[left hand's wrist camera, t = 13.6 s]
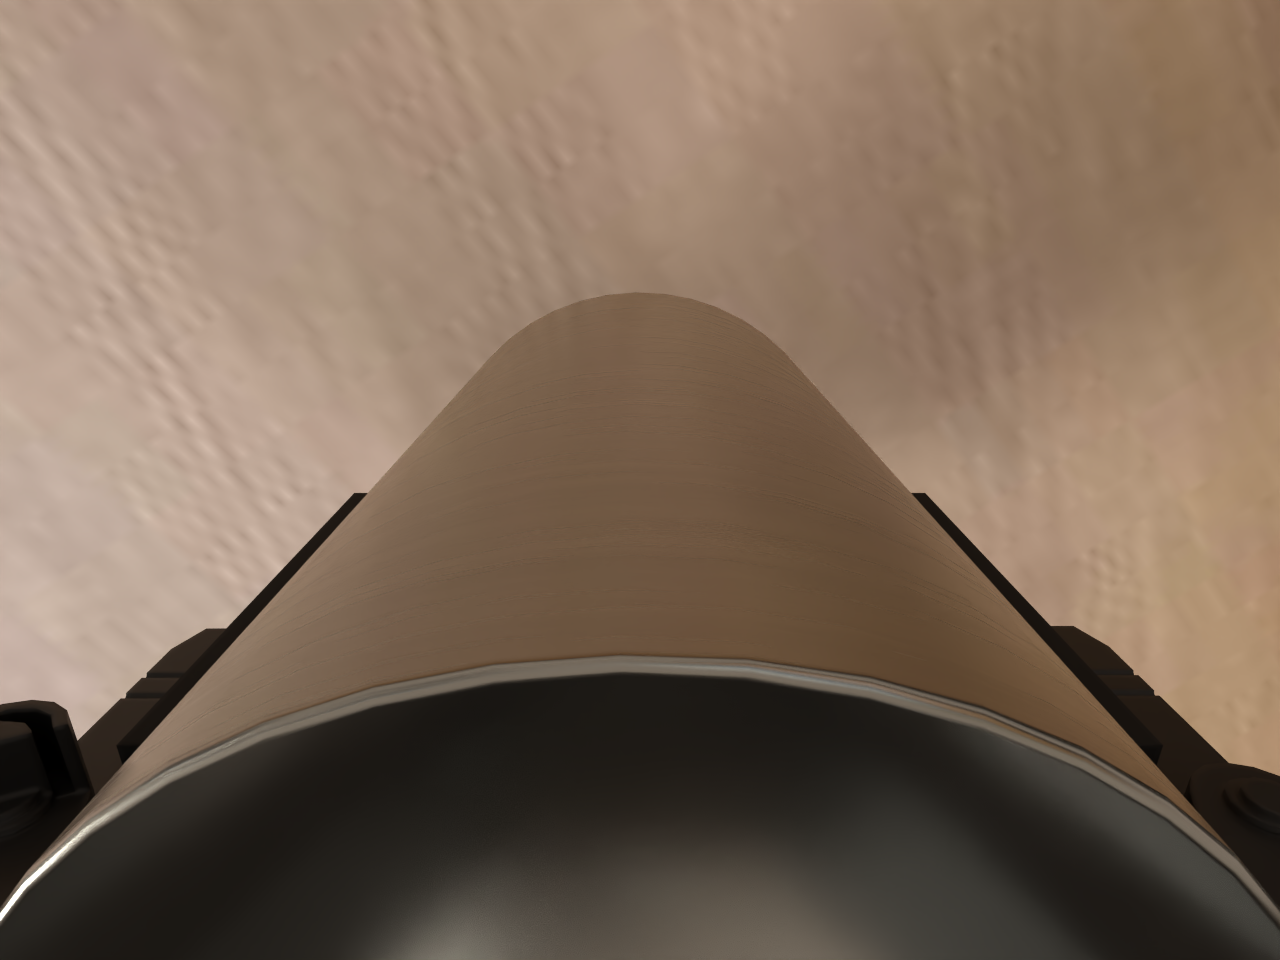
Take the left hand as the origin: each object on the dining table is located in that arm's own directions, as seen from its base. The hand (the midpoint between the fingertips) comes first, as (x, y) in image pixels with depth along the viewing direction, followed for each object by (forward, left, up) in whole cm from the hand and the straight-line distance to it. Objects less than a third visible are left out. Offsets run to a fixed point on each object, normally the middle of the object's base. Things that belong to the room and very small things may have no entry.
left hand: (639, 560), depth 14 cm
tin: (0, 0, -3) cm, 3 cm away
